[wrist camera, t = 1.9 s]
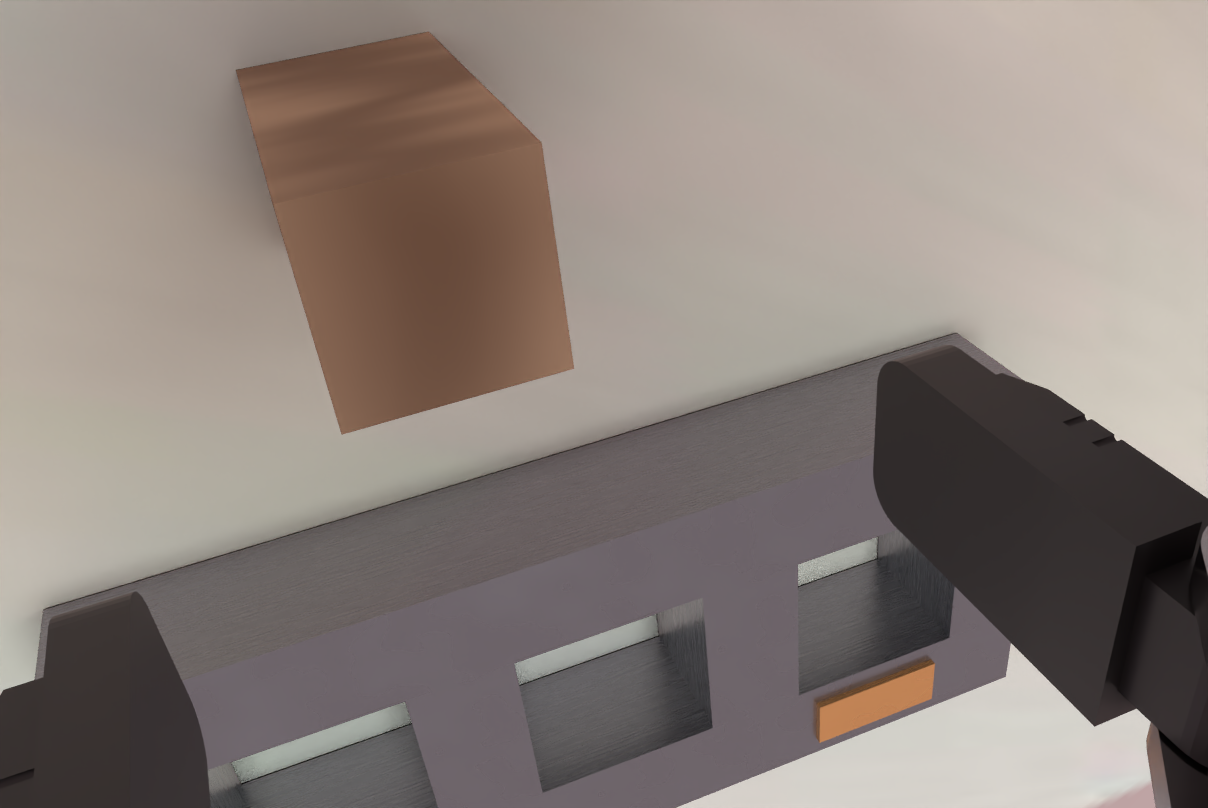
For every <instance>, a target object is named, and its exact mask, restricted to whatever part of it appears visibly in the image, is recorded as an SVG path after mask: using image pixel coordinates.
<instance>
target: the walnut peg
mask: <svg viewBox="0 0 1208 808" xmlns="http://www.w3.org/2000/svg"><path fill="white" fill-rule="evenodd" d="M236 72H237V76H238V79H239V83H240V87H241V90H242V94H243V98H244V101H245V105H246V109H247V112H248V116H249V119H250V123H251V127H252V130H253V134H254V138H255V141H256V145H257V148H258V152H259V156H260V159H261V163H262V167H263V170H264V174H265V177H266V181H267V185H268V188H269V192H270V196H271V199H272V203H273V206H274V210H275V213H276V216H277V220H278V223H279V226H280V230H281V233H282V236H283V240H284V243H285V246H286V250H287V253H288V256H289V260H290V263H291V266H292V270H293V273H294V277H295V280H296V283H297V287H298V290H299V293H300V297H301V300H302V303H303V307H304V310H305V313H306V317H307V320H308V323H309V327H310V330H311V333H312V337H313V340H314V343H315V347H316V350H317V353H318V357H319V360H320V363H321V367H322V370H323V374H324V377H325V380H326V384H327V387H328V390H329V394H330V397H331V400H332V404H333V407H334V410H335V414H336V417H337V420H338V424H339V427H340V430H341V434H345V433H349V432H352V431H356V430H359V429H363V428H366V427H370V426H373V425H377V424H380V423H384V422H387V421H391V420H395V419H398V418H402V417H405V416H409V415H412V414H416V413H419V412H423V411H426V410H430V409H433V408H437V407H440V406H444V405H447V404H451V403H454V402H458V401H461V400H465V399H468V398H472V397H475V396H479V395H483V394H486V393H490V392H493V391H497V390H500V389H504V388H507V387H511V386H514V385H518V384H521V383H525V382H528V381H532V380H535V379H539V378H542V377H546V376H549V375H553V374H556V373H560V372H564V371H567V370H571V369H574V365H573V358H572V351H571V344H570V337H569V330H568V323H567V316H566V309H565V302H564V295H563V288H562V282H561V275H560V268H559V261H558V254H557V247H556V240H555V233H554V226H553V219H552V212H551V205H550V198H549V191H548V184H547V177H546V171H545V164H544V157H543V150H542V143H541V142H540V141H539V140H538V139H537V138H536V137H535V136H534V135H533V134H532V133H531V132H530V131H529V130H528V129H527V128H526V127H525V126H524V125H523V124H522V123H521V122H520V121H519V120H518V119H517V118H516V117H515V116H514V115H513V114H512V113H511V112H510V111H509V110H508V109H507V108H506V107H505V106H504V105H503V104H502V103H501V102H500V101H499V100H498V99H497V98H496V97H495V96H494V95H493V94H492V93H491V92H490V91H489V90H488V89H486V88H485V87H484V86H483V85H482V84H481V83H480V82H479V81H478V80H477V79H476V78H475V77H474V76H473V75H472V74H471V73H470V72H469V71H468V70H467V69H466V68H465V67H464V66H463V65H462V64H461V63H460V62H459V61H458V60H457V59H456V58H455V57H454V56H453V55H452V54H451V53H450V52H449V51H448V50H447V49H446V48H445V47H444V46H443V45H442V44H441V43H440V42H439V41H438V40H437V39H436V38H435V37H434V36H433V35H432V34H430V33H429V32H425V33H420V34H415V35H410V36H405V37H400V38H395V39H390V40H385V41H380V42H375V43H370V44H365V45H360V46H354V47H349V48H344V49H339V50H334V51H329V52H324V53H319V54H314V55H309V56H304V57H299V58H294V59H289V60H284V61H279V62H274V63H269V64H264V65H259V66H254V67H249V68H244V69H239V70H236Z"/></svg>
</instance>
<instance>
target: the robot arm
mask: <svg viewBox="0 0 1208 808" xmlns="http://www.w3.org/2000/svg"><path fill="white" fill-rule="evenodd" d="M873 479H874V485H875V490H876V493H877V497H878V499H879V502H880V504H881V506H882V508H883V510H884V512H885V514H886V515H887V517H888V518H889V520H890V521H891V522H892V524H893V525H894V526H895V527H896V528H897V529H898V530H899V531H900V532H901V533H902V534H903V535H904V536H905V537H906V538H907V539H908V540H909V541H910V542H911V543H912V544H913V545H914V546H915V547H916V548H917V549H918V550H919V551H920V552H921V553H922V554H923V555H924V556H925V557H926V558H927V559H928V560H929V561H930V562H931V563H932V564H933V565H934V566H935V567H936V568H937V569H938V570H939V571H940V572H941V573H942V574H943V575H944V576H945V577H946V578H947V579H948V580H949V581H950V582H951V583H952V584H953V585H954V586H955V587H956V588H957V589H958V590H959V591H960V592H961V593H962V594H963V595H964V596H965V597H966V598H967V599H968V600H969V601H970V602H971V603H972V604H973V605H974V606H975V607H976V608H977V609H978V610H979V611H980V612H981V613H982V614H983V615H984V616H985V617H986V618H987V619H988V620H989V621H990V622H991V623H992V624H993V625H994V626H995V627H996V628H997V629H998V630H999V631H1000V632H1001V633H1002V634H1003V635H1004V636H1005V637H1006V638H1007V639H1008V640H1009V641H1010V642H1011V643H1012V644H1013V645H1014V646H1015V647H1016V648H1017V649H1018V650H1019V651H1020V652H1021V653H1022V654H1023V655H1024V656H1025V657H1026V658H1027V659H1028V660H1029V661H1030V662H1031V663H1032V664H1033V665H1034V666H1035V667H1036V668H1037V669H1038V670H1039V671H1040V672H1041V673H1042V674H1043V675H1044V676H1045V677H1046V678H1047V679H1048V680H1049V681H1050V682H1051V683H1052V684H1053V685H1054V686H1055V687H1056V688H1057V689H1058V690H1059V691H1060V692H1061V693H1062V694H1063V695H1064V696H1065V697H1066V698H1067V699H1068V700H1069V701H1070V702H1071V703H1072V704H1073V705H1074V706H1075V707H1076V708H1077V709H1078V710H1079V711H1080V712H1081V713H1082V714H1083V715H1084V716H1085V717H1086V718H1087V719H1088V720H1089V721H1090V722H1091V723H1092V724H1093V725H1094V726H1097V725H1099V724H1102V723H1104V722H1106V721H1108V720H1111V719H1113V718H1115V717H1118V716H1120V715H1122V714H1125V713H1127V712H1129V711H1132V710H1134V709H1136V708H1137V709H1138V710H1139V711H1140V712H1141V713H1142V714H1143V715H1144V716H1145V717H1146V718H1147V719H1148V720H1149V721H1151V724H1150V727H1149V731H1148V735H1147V740H1146V742H1147V754H1148V761H1149V767H1150V774H1151V780H1152V787H1153V793H1154V799H1155V806H1156V808H1208V498H1206V497H1205V496H1203V495H1202V494H1200V493H1199V492H1197V491H1196V490H1194V489H1193V488H1191V487H1190V486H1189V485H1187V484H1186V483H1184V482H1183V481H1181V480H1180V479H1178V478H1177V477H1175V476H1174V475H1173V474H1171V473H1170V472H1168V471H1167V470H1165V469H1164V468H1162V467H1161V466H1159V465H1158V464H1156V463H1155V462H1154V461H1152V460H1151V459H1149V458H1148V457H1146V456H1145V455H1143V454H1142V453H1140V452H1139V451H1137V450H1136V449H1135V448H1133V447H1132V446H1130V445H1129V444H1127V443H1126V442H1124V441H1123V440H1120V441H1116V440H1115V438H1114V434H1113V433H1111V432H1110V431H1108V430H1107V429H1105V428H1104V427H1102V426H1101V425H1100V424H1098V423H1097V422H1095V421H1094V420H1092V419H1091V420H1088V421H1087V420H1086V418H1085V414H1083V413H1082V412H1081V411H1079V410H1078V409H1076V408H1075V407H1073V406H1072V405H1070V404H1069V403H1067V402H1066V401H1065V400H1063V399H1062V398H1060V397H1059V396H1057V395H1056V394H1054V393H1053V392H1051V391H1050V390H1048V389H1046V388H1043V387H1040V386H1037V385H1034V384H1032V383H1029V382H1026V381H1023V380H1020V379H1018V378H1015V377H1012V376H1009V375H1006V374H1004V373H1000V374H997V375H996V374H994V373H993V372H992V371H990V370H989V369H987V368H986V367H985V366H983V365H982V364H980V363H979V362H977V361H976V360H975V359H973V358H972V357H970V356H969V355H968V354H966V353H965V352H963V351H962V350H961V349H959V348H957V347H955V346H952V345H942V346H938V347H935V348H932V349H929V350H925V351H922V352H919V353H916V354H912V355H909V356H906V357H903V358H899V359H896V360H893V361H890V362H887V363H886V364H884V365H883V367H882V368H881V370H880V372H879V375H878V381H877V398H876V419H875V439H874V460H873ZM0 808H211V806H210V793H209V779H208V766H207V757H206V751H205V745H204V741H203V736H202V732H201V728H200V725H199V721H198V718H197V715H196V712H195V709H194V706H193V704H192V701H191V699H190V697H189V694H188V692H187V690H186V688H185V686H184V684H183V682H182V679H181V677H180V675H179V673H178V671H177V669H176V666H175V664H174V662H173V660H172V658H171V656H170V654H169V651H168V649H167V647H166V645H165V643H164V641H163V638H162V636H161V634H160V632H159V630H158V628H157V626H156V623H155V621H154V619H153V617H152V615H151V613H150V610H149V608H148V606H147V604H146V602H145V601H144V599H143V598H142V596H141V595H140V594H139V593H138V592H136V591H134V592H131V593H128V594H125V595H121V596H118V597H115V598H111V599H108V600H105V601H102V602H98V603H95V604H92V605H89V606H85V607H82V608H79V609H76V610H72V611H69V612H66V613H63V614H59V615H56V616H54V617H52V618H51V620H50V622H49V626H48V634H47V645H46V655H45V665H44V675H43V678H40V679H37V680H34V681H30V682H27V683H24V684H21V685H18V686H15V687H12V688H9V689H5V690H3V692H2V693H1V695H0Z"/></svg>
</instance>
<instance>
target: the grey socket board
mask: <svg viewBox="0 0 1208 808" xmlns="http://www.w3.org/2000/svg"><path fill="white" fill-rule="evenodd" d="M942 345H952V346H955V347H957V348H959V349H961V350H962V351H963V352H965V353H966V354H968V355H969V356H970V357H972V358H973V359H975V360H976V361H977V362H979V363H980V364H982V365H983V366H985V367H986V368H987V369H989V370H990V371H992V372H993V373H994V374H996V375H997V374H1000V373H1004V374H1006V375H1009V376H1012V377H1015V378H1018V379H1020V380H1022V379H1021V378H1019V377H1018V376H1017V375H1015V374H1014V373H1012V372H1011V371H1010V370H1008V369H1007V368H1005V367H1004V366H1003V365H1001V364H1000V363H998V362H997V361H995V360H994V359H993V358H991V357H990V356H988V355H987V354H986V353H984V352H983V351H981V350H980V349H979V348H977V347H976V346H974V345H973V344H972V343H970V342H969V341H967V340H966V339H965V338H963V337H962V336H960V335H959V334H958V333H955V334H952V335H949V336H945V337H942V338H939V339H935V340H932V341H929V342H926V343H922V344H919V345H916V346H912V347H909V348H906V349H903V350H899V351H896V352H893V353H889V354H886V355H883V356H879V357H876V358H873V359H870V360H866V361H863V362H860V363H856V364H853V365H850V366H846V367H843V368H840V369H837V370H833V371H830V372H827V373H823V374H820V375H817V376H813V377H810V378H807V379H804V380H800V381H797V382H794V383H790V384H787V385H784V386H781V387H777V388H774V389H771V390H767V391H764V392H761V393H757V394H754V395H751V396H748V397H744V398H741V399H738V400H734V401H731V402H728V403H724V404H721V405H718V406H715V407H711V408H708V409H705V410H701V411H698V412H695V413H691V414H688V415H685V416H682V417H678V418H675V419H672V420H668V421H665V422H662V423H658V424H655V425H652V426H649V427H645V428H642V429H639V430H635V431H632V432H629V433H626V434H622V435H619V436H616V437H612V438H609V439H606V440H602V441H599V442H596V443H593V444H589V445H586V446H583V447H579V448H576V449H573V450H569V451H566V452H563V453H560V454H556V455H553V456H550V457H546V458H543V459H540V460H536V461H533V462H530V463H527V464H523V465H520V466H517V467H513V468H510V469H507V470H504V471H500V472H497V473H494V474H490V475H487V476H484V477H480V478H477V479H474V480H471V481H467V482H464V483H461V484H457V485H454V486H451V487H447V488H444V489H441V490H438V491H434V492H431V493H428V494H424V495H421V496H418V497H414V498H411V499H408V500H405V501H401V502H398V503H395V504H391V505H388V506H385V507H381V508H378V509H375V510H372V511H368V512H365V513H362V514H358V515H355V516H352V517H349V518H345V519H342V520H339V521H335V522H332V523H329V524H325V525H322V526H319V527H316V528H312V529H309V530H306V531H302V532H299V533H296V534H292V535H289V536H286V537H283V538H279V539H276V540H273V541H269V542H266V543H263V544H259V545H256V546H253V547H250V548H246V549H243V550H240V551H236V552H233V553H230V554H227V555H223V556H220V557H217V558H213V559H210V560H207V561H203V562H200V563H197V564H194V565H190V566H187V567H184V568H180V569H177V570H174V571H170V572H167V573H164V574H161V575H157V576H154V577H151V578H147V579H144V580H141V581H137V582H134V583H131V584H128V585H124V586H121V587H118V588H114V589H111V590H108V591H104V592H101V593H98V594H95V595H91V596H88V597H85V598H81V599H78V600H75V601H72V602H68V603H65V604H62V605H58V606H55V607H52V608H48V609H45V610H43V616H42V625H41V633H40V641H39V649H38V657H37V665H36V673H35V680H37V679H40V678H43V675H44V665H45V655H46V645H47V634H48V626H49V622H50V620H51V618H52V617H54V616H56V615H59V614H63V613H66V612H69V611H72V610H76V609H79V608H82V607H85V606H89V605H92V604H95V603H98V602H102V601H105V600H108V599H111V598H115V597H118V596H121V595H125V594H128V593H131V592H134V591H136V592H138V593H139V594H140V595H141V596H142V598H143V599H144V601H145V602H146V604H147V606H148V608H149V610H150V613H151V615H152V617H153V619H154V621H155V623H156V626H157V628H158V630H159V632H160V634H161V636H162V638H163V641H164V643H165V645H166V647H167V649H168V651H169V654H170V656H171V658H172V660H173V662H174V664H175V666H176V669H177V671H178V673H179V675H180V677H181V679H182V682H183V684H184V686H185V688H186V690H187V692H188V694H189V697H190V699H191V701H192V704H193V706H194V709H195V712H196V715H197V718H198V721H199V725H200V728H201V732H202V736H203V741H204V745H205V751H206V757H207V766H208V779H209V793H210V806H211V808H676V807H678V806H681V805H683V804H686V803H689V802H691V801H694V800H696V799H699V798H701V797H704V796H706V795H709V794H711V793H714V792H716V791H719V790H721V789H724V788H726V787H729V786H731V785H734V784H736V783H739V782H741V781H744V780H746V779H749V778H752V777H754V776H757V775H759V774H762V773H764V772H767V771H769V770H772V769H774V768H777V767H779V766H782V765H784V764H787V763H789V762H792V761H794V760H797V759H799V758H802V757H804V756H807V755H809V754H812V753H814V752H817V751H820V750H822V749H825V748H827V747H830V746H832V745H835V744H837V743H840V742H842V741H845V740H847V739H850V738H852V737H855V736H857V735H860V734H862V733H865V732H867V731H870V730H872V729H875V728H877V727H880V726H883V725H885V724H888V723H890V722H893V721H895V720H898V719H900V718H903V717H905V716H908V715H910V714H913V713H915V712H918V711H920V710H923V709H925V708H928V707H930V706H933V705H935V704H938V703H940V702H943V701H946V700H948V699H951V698H953V697H956V696H958V695H961V694H963V693H966V692H968V691H971V690H973V689H976V688H978V687H981V686H983V685H986V684H988V683H991V682H993V681H996V680H998V679H1001V678H1003V677H1006V671H1007V664H1008V658H1009V651H1010V644H1011V642H1010V641H1009V640H1008V639H1007V638H1006V637H1005V636H1004V635H1003V634H1002V633H1001V632H1000V631H999V630H998V629H997V628H996V627H995V626H994V625H993V624H992V623H991V622H990V621H989V620H988V619H987V618H986V617H985V616H984V615H983V614H982V613H981V612H980V611H979V610H978V609H977V608H976V607H975V606H974V605H973V604H972V603H971V602H970V601H969V600H968V599H967V598H966V597H965V596H964V595H963V594H962V593H961V592H960V591H959V590H958V589H957V588H956V587H955V586H954V585H953V584H952V583H951V582H950V581H949V580H948V579H947V578H946V577H945V576H944V575H943V574H942V573H941V572H940V571H939V570H938V569H937V568H936V567H935V566H934V565H933V564H932V563H931V562H930V561H929V560H928V559H927V558H926V557H925V556H924V555H923V554H922V553H921V552H920V551H919V550H918V549H917V548H916V547H915V546H914V545H913V544H912V543H911V542H910V541H909V540H908V539H907V538H906V537H905V536H904V535H903V534H902V533H901V532H900V531H899V530H898V529H897V528H896V527H895V526H894V525H893V524H892V522H891V521H890V520H889V518H888V517H887V515H886V514H885V512H884V510H883V508H882V506H881V504H880V502H879V499H878V497H877V493H876V490H875V485H874V479H873V460H874V439H875V419H876V398H877V381H878V375H879V372H880V370H881V368H882V367H883V365H884V364H886V363H887V362H890V361H893V360H896V359H899V358H903V357H906V356H909V355H912V354H916V353H919V352H922V351H925V350H929V349H932V348H935V347H938V346H942ZM1023 381H1024V380H1023ZM878 536H879V539H878V559H876V560H874V561H871V562H868V563H865V564H862V565H859V566H857V567H854V568H851V569H848V570H845V571H843V572H840V573H837V574H834V575H831V576H828V577H826V578H823V579H820V580H817V581H814V582H811V583H809V584H806V585H803V586H800V587H798V564H801V563H803V562H806V561H809V560H812V559H815V558H818V557H821V556H823V555H826V554H829V553H832V552H835V551H838V550H841V549H844V548H846V547H849V546H852V545H855V544H858V543H861V542H864V541H867V540H869V539H872V538H875V537H878ZM654 614H657V620H658V629H659V637H656V638H653V639H651V640H648V641H645V642H642V643H639V644H636V645H634V646H631V647H628V648H625V649H622V650H620V651H617V652H614V653H611V654H608V655H605V656H603V657H600V658H597V659H594V660H591V661H589V662H586V663H583V664H580V665H577V666H574V667H572V668H569V669H566V670H563V671H560V672H557V673H555V674H552V675H549V676H546V677H543V678H541V679H538V680H535V681H532V682H529V683H526V684H524V685H521V686H519V683H518V679H517V674H516V669H515V665H514V663H517V662H519V661H522V660H525V659H528V658H531V657H534V656H537V655H540V654H542V653H545V652H548V651H551V650H554V649H557V648H560V647H562V646H565V645H568V644H571V643H574V642H577V641H580V640H583V639H585V638H588V637H591V636H594V635H597V634H600V633H603V632H605V631H608V630H611V629H614V628H617V627H620V626H623V625H626V624H628V623H631V622H634V621H637V620H640V619H643V618H646V617H649V616H651V615H654ZM402 702H406V705H407V709H408V712H409V715H410V718H411V721H412V724H411V725H408V726H405V727H402V728H399V729H397V730H394V731H391V732H388V733H385V734H382V735H380V736H377V737H374V738H371V739H368V740H366V741H363V742H360V743H357V744H354V745H351V746H349V747H346V748H343V749H340V750H337V751H334V752H332V753H329V754H326V755H323V756H320V757H318V758H315V759H312V760H309V761H306V762H303V763H301V764H298V765H295V766H292V767H289V768H287V769H284V770H281V771H278V772H275V773H272V774H270V775H267V776H264V777H261V778H258V779H255V780H253V781H250V782H247V783H244V784H241V783H240V781H239V779H238V776H237V774H236V772H235V770H234V768H233V766H232V764H231V762H233V761H235V760H238V759H241V758H244V757H247V756H250V755H253V754H256V753H258V752H261V751H264V750H267V749H270V748H273V747H276V746H278V745H281V744H284V743H287V742H290V741H293V740H296V739H299V738H301V737H304V736H307V735H310V734H313V733H316V732H319V731H322V730H324V729H327V728H330V727H333V726H336V725H339V724H342V723H344V722H347V721H350V720H353V719H356V718H359V717H362V716H365V715H367V714H370V713H373V712H376V711H379V710H382V709H385V708H387V707H390V706H393V705H396V704H399V703H402Z"/></svg>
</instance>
